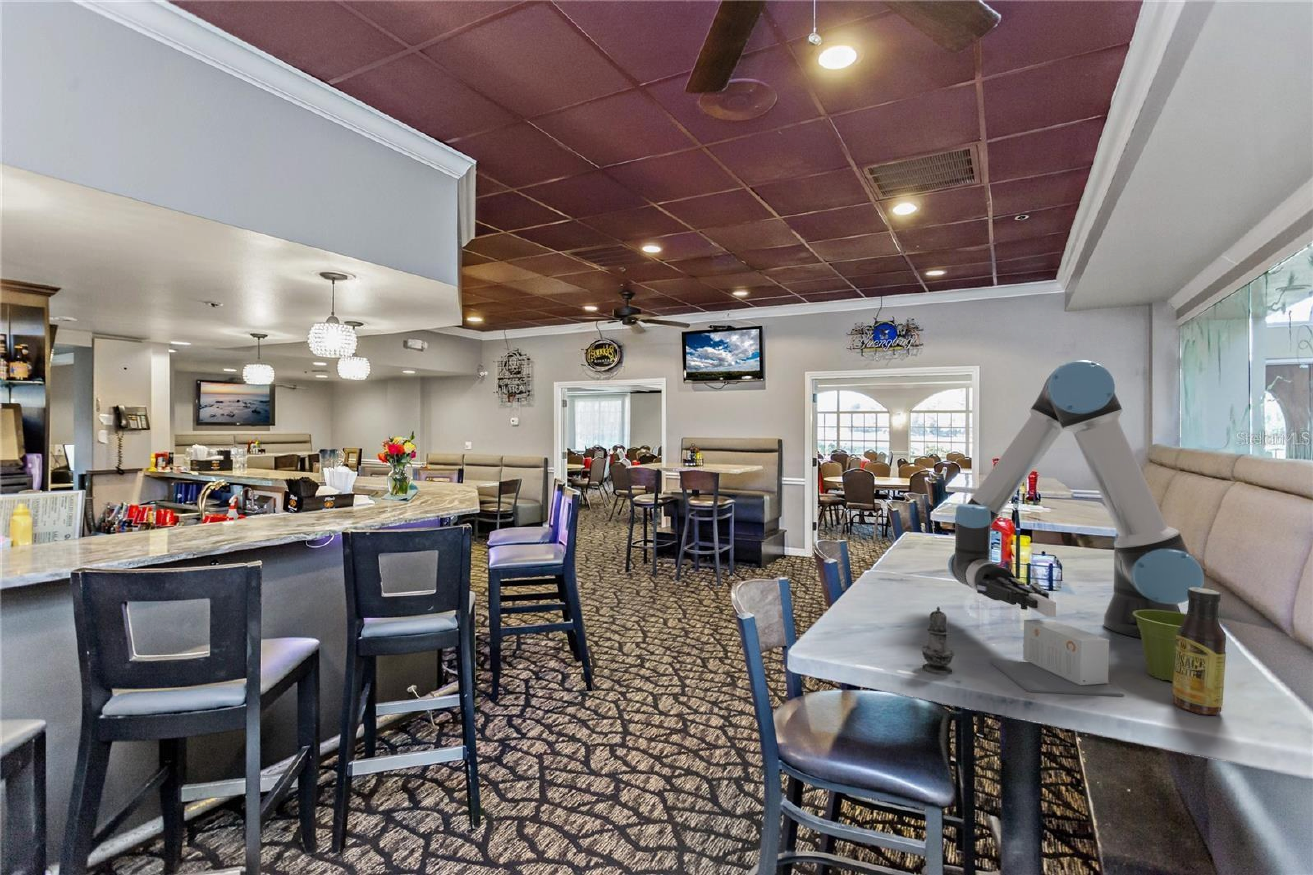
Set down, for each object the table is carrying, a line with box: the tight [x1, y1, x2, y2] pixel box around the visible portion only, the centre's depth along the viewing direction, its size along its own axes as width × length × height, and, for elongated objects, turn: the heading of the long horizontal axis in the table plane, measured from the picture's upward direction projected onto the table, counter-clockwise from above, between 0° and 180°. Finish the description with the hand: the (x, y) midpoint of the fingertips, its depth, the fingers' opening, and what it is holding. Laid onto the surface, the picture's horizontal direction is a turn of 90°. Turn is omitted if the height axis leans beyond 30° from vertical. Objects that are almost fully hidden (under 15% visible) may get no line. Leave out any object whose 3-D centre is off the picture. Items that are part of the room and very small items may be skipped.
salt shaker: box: [920, 606, 955, 676], centre depth 117 cm, size 6×6×12 cm
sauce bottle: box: [1172, 587, 1227, 716], centre depth 101 cm, size 7×6×20 cm
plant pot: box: [1133, 610, 1187, 683], centre depth 115 cm, size 12×12×11 cm
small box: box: [1022, 618, 1110, 685], centre depth 116 cm, size 8×6×13 cm
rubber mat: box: [989, 659, 1125, 697], centre depth 113 cm, size 16×14×1 cm
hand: (1051, 609), depth 114 cm, fingers closed
